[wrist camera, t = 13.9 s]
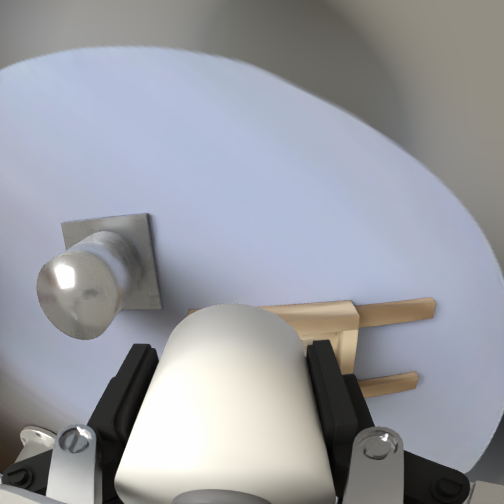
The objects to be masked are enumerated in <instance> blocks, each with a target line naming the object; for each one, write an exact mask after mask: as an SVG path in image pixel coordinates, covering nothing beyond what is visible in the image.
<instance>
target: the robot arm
mask: <svg viewBox="0 0 504 504" xmlns="http://www.w3.org/2000/svg"><path fill="white" fill-rule="evenodd" d="M306 358H307V362H308V367H309V371H310V376H311V380H312V385H313V390H314V394H315V399H316V403H317V408H318V413H319V417H320V422H321V427H322V432H323V437H324V441H325V445H326V449H327V454H328V459H329V464H330V469H331V474H332V479H333V484H334V489H335V495H336V497H337V500H336V504H504V486H502V485H497V484H492V483H487V482H482V481H478V480H477V481H476V482H475V483H471V482H469V480H468V478H467V477H466V476H465V475H464V474H463V473H461V472H459V471H457V470H455V469H452V468H449V467H446V466H443V465H441V464H438V463H435V462H433V461H430V460H427V459H425V458H422V457H420V456H417V455H415V454H412V453H410V452H407V451H405V450H404V448H403V441H402V439H401V437H400V436H399V434H398V433H396V432H395V431H394V430H391V429H389V428H386V427H380V426H378V427H375V425H374V423H373V420H372V417H371V415H370V412H369V409H368V407H367V404H366V402H365V399H364V396H363V394H362V391H361V389H360V386H359V384H358V381H357V379H356V376H355V375H354V374H353V373H352V374H344V375H342V373H341V370H340V367H339V365H338V362H337V359H336V356H335V353H334V351H333V348H332V345H331V342H330V340H329V339H326V340H314V341H313V344H312V345H307V357H306ZM158 363H159V360H158V356H157V352H156V349H155V348H151V346H150V344H133V346H132V348H131V349H130V351H129V353H128V355H127V357H126V358H125V360H124V362H123V364H122V366H121V367H120V369H119V371H118V373H117V375H116V377H113V378H112V379H111V380H110V382H109V384H108V386H107V388H106V389H105V391H104V393H103V395H102V397H101V399H100V401H99V402H98V404H97V406H96V408H95V410H94V412H93V414H92V416H91V418H90V420H89V421H88V423H87V425H83V424H74V425H70V426H67V427H65V428H64V429H62V430H61V431H60V432H59V433H58V434H57V435H56V434H54V433H52V432H50V431H48V430H45V429H43V428H40V427H36V426H27V427H25V428H24V429H23V430H22V432H21V434H20V437H21V441H22V443H23V445H24V448H23V450H22V451H21V453H20V455H19V456H18V458H17V460H16V461H15V463H14V464H12V465H10V466H9V467H8V468H7V469H6V470H5V471H4V473H3V475H1V474H0V504H124V502H123V501H122V500H121V499H120V497H119V496H118V494H117V492H116V489H115V485H114V480H115V476H116V473H117V470H118V467H119V465H120V462H121V459H122V456H123V453H124V451H125V448H126V445H127V443H128V440H129V437H130V435H131V432H132V429H133V427H134V424H135V421H136V419H137V416H138V414H139V411H140V408H141V406H142V403H143V401H144V398H145V396H146V393H147V390H148V388H149V385H150V383H151V380H152V378H153V375H154V373H155V370H156V368H157V365H158Z"/></svg>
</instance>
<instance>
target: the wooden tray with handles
mask: <svg viewBox="0 0 504 504" xmlns="http://www.w3.org/2000/svg"><path fill="white" fill-rule="evenodd" d="M435 305H436V302H435V301H434V300H433V299H432V298H431V297H430V298H422V299H414V300H406V301H397V302H388V303H379V304H369V305H359V306H354V305H353V303H352V302H351V300H345V301H333V302H320V303H307V304H292V305H276V306H259V308H262V309H264V310H267V311H270V312H271V313H273V314H275V315H277V316H279V317H280V318H282V319H283V320H285V321H286V322H287V323H288V324H289V325H290V326H291V327H292V328H293V329H294V330H295V331H296V332H297V334H298V335H299V337H300V339H301V340H306V339H315V340H326V339H329V340H330V342H331V345H332V348H333V351H334V353H335V356H336V359H337V362H338V365H339V367H340V370H341V373H342V375H344V374H352V373H353V370H354V362H355V354H356V346H357V338H358V328H361V327H370V326H379V325H387V324H394V323H402V322H409V321H416V320H423V319H429V318H433V315H434V310H435ZM198 310H200V309H189V312H188V314H187V316H189V315H190V314H192V313H194V312H196V311H198ZM418 378H419V377H418V375H417V374H416V372H410V373H404V374H399V375H393V376H387V377H381V378H375V379H368V380H362V381H358V384H359V386H360V389H361V391H362V394H363V396H364V398H368V397H374V396H380V395H386V394H391V393H396V392H402V391H407V390H411V389H415V388H416V385H417V381H418Z"/></svg>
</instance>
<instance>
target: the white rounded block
mask: <svg viewBox="0 0 504 504" xmlns="http://www.w3.org/2000/svg"><path fill="white" fill-rule="evenodd" d="M114 485H115V489H116V492H117V494H118V496H119V497H120V499H121V500H122V501H123V502H124V504H335V503H336V495H335V489H334V484H333V479H332V474H331V469H330V464H329V459H328V454H327V449H326V445H325V441H324V437H323V432H322V427H321V422H320V417H319V413H318V408H317V403H316V399H315V394H314V390H313V385H312V380H311V376H310V371H309V367H308V362H307V358H306V352H305V348H304V345H303V343H302V340H301V339H300V337H299V335H298V334H297V332H296V331H295V330H294V329H293V328H292V327H291V326H290V325H289V324H288V323H287V322H286V321H285V320H283V319H282V318H280V317H279V316H277V315H275V314H273V313H271V312H270V311H267V310H264V309H262V308H259V307H255V306H251V305H245V304H219V305H214V306H209V307H206V308H203V309H200V310H198V311H196V312H194V313H192V314H190V315H189V316H187V317H186V318H185V319H183V320H182V321H181V322H180V323H179V324H178V325H177V326H176V327H175V329H174V330H173V331H172V333H171V335H170V337H169V339H168V341H167V343H166V346H165V348H164V351H163V353H162V356H161V358H160V360H159V363H158V365H157V368H156V370H155V373H154V375H153V378H152V380H151V383H150V385H149V388H148V390H147V393H146V396H145V398H144V401H143V403H142V406H141V408H140V411H139V414H138V416H137V419H136V421H135V424H134V427H133V429H132V432H131V435H130V437H129V440H128V443H127V445H126V448H125V451H124V453H123V456H122V459H121V462H120V465H119V467H118V470H117V473H116V476H115V480H114Z"/></svg>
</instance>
